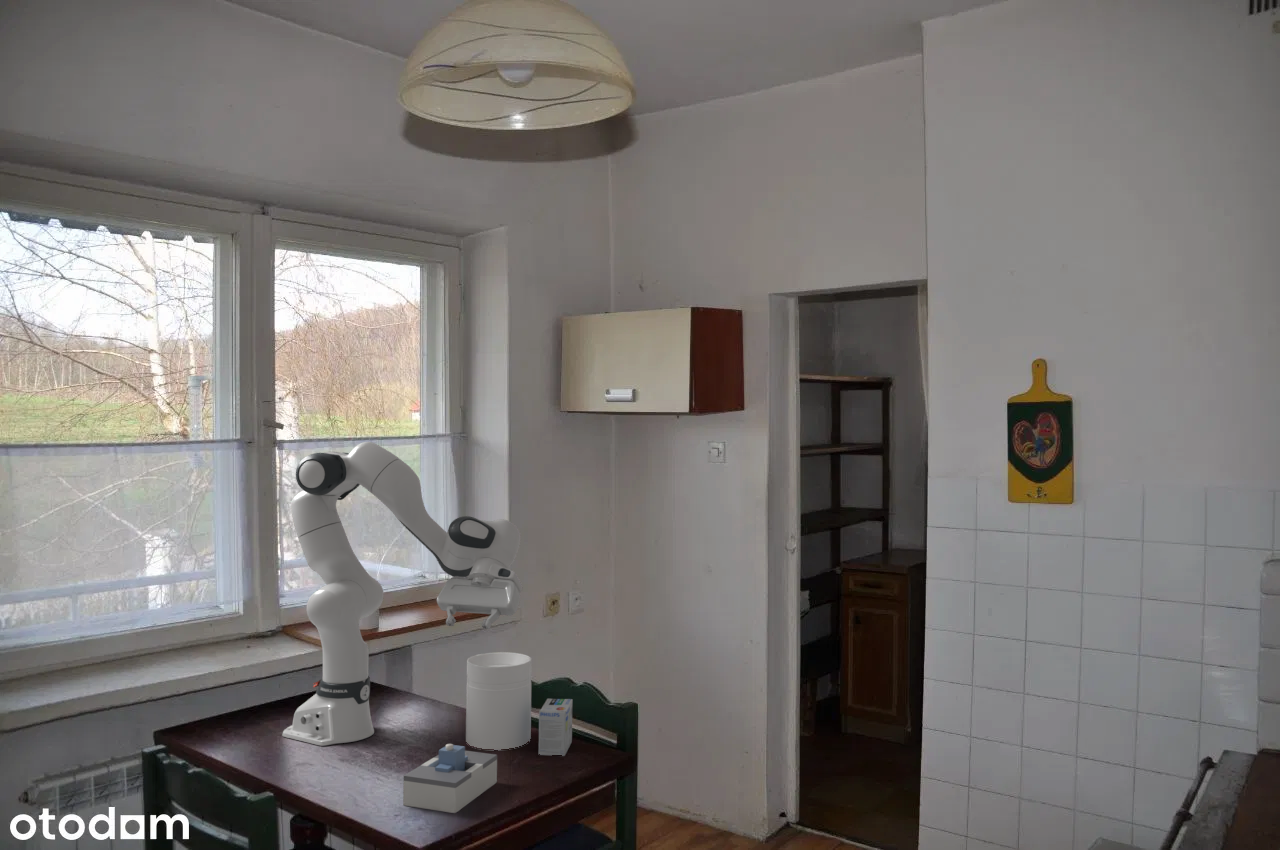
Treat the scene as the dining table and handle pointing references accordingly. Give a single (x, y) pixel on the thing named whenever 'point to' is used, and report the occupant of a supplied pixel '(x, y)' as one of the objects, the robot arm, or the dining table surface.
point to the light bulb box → (555, 727)
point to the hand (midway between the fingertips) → (467, 626)
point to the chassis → (449, 783)
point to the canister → (498, 700)
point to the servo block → (451, 758)
